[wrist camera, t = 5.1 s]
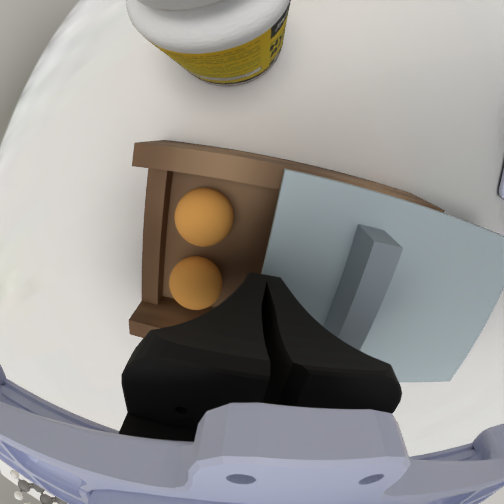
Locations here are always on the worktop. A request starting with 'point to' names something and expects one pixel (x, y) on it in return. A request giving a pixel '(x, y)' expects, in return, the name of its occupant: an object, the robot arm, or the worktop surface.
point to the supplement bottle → (215, 35)
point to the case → (244, 224)
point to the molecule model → (26, 487)
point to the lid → (386, 272)
